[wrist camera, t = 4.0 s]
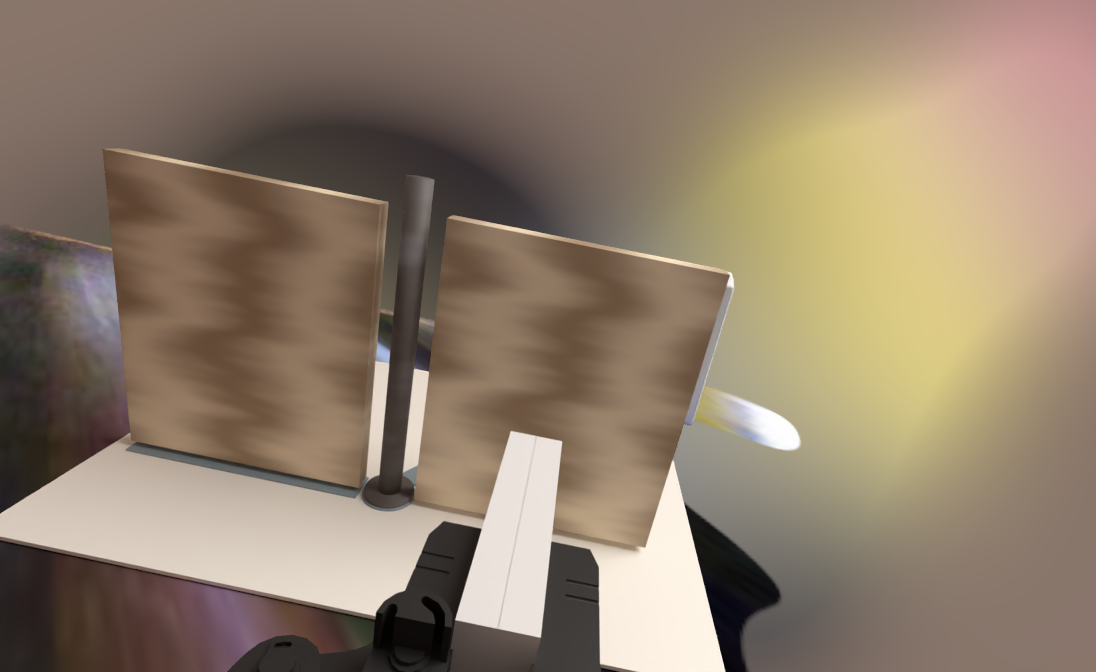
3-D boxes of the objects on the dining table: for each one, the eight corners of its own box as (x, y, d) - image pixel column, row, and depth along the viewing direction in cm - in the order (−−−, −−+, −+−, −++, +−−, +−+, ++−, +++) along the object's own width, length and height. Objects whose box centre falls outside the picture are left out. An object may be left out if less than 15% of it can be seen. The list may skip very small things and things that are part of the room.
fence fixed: (119, 458, 28) (82, 114, 23) (157, 433, 31) (132, 116, 25) (404, 517, 28) (441, 185, 22) (419, 487, 31) (456, 181, 25)
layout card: (-27, 534, 23) (-28, 528, 22) (277, 343, 44) (277, 339, 44) (728, 694, 22) (730, 689, 22) (662, 422, 44) (663, 418, 44)
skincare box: (648, 385, 50) (683, 260, 46) (694, 398, 49) (734, 272, 45) (641, 412, 45) (679, 273, 40) (692, 428, 44) (737, 287, 40)
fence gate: (413, 499, 29) (447, 218, 24) (419, 488, 30) (452, 215, 24) (645, 547, 29) (730, 274, 23) (643, 534, 29) (724, 269, 24)
